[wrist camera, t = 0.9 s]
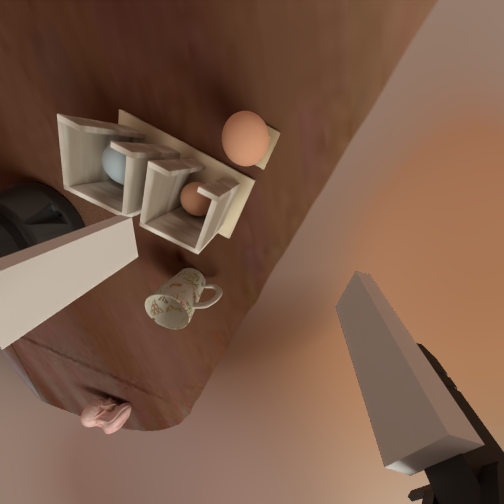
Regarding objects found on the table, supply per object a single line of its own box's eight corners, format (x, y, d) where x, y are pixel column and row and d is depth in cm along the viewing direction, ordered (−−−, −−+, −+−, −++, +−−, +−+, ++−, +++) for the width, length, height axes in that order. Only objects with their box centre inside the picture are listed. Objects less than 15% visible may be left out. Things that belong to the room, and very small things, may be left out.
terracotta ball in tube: (186, 202, 31) (170, 210, 27) (194, 174, 29) (177, 178, 25) (213, 216, 32) (201, 225, 27) (222, 189, 29) (211, 195, 25)
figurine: (137, 395, 84) (91, 391, 78) (124, 429, 74) (71, 427, 69) (133, 403, 89) (91, 400, 84) (121, 436, 80) (72, 435, 74)
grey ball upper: (106, 174, 25) (87, 173, 20) (117, 138, 24) (100, 128, 20) (146, 191, 27) (137, 193, 22) (157, 158, 26) (150, 153, 22)
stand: (234, 153, 27) (223, 153, 23) (247, 115, 25) (238, 106, 20) (264, 169, 28) (259, 172, 23) (280, 133, 25) (278, 128, 20)
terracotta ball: (223, 153, 23) (208, 153, 18) (239, 106, 20) (225, 93, 16) (259, 172, 23) (252, 176, 19) (278, 128, 21) (276, 122, 16)
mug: (169, 263, 40) (136, 294, 31) (224, 260, 37) (204, 293, 28) (182, 293, 43) (155, 328, 35) (232, 293, 40) (217, 331, 32)
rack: (119, 181, 32) (50, 192, 23) (123, 110, 27) (36, 87, 18) (230, 236, 34) (208, 268, 25) (255, 180, 28) (239, 193, 19)
